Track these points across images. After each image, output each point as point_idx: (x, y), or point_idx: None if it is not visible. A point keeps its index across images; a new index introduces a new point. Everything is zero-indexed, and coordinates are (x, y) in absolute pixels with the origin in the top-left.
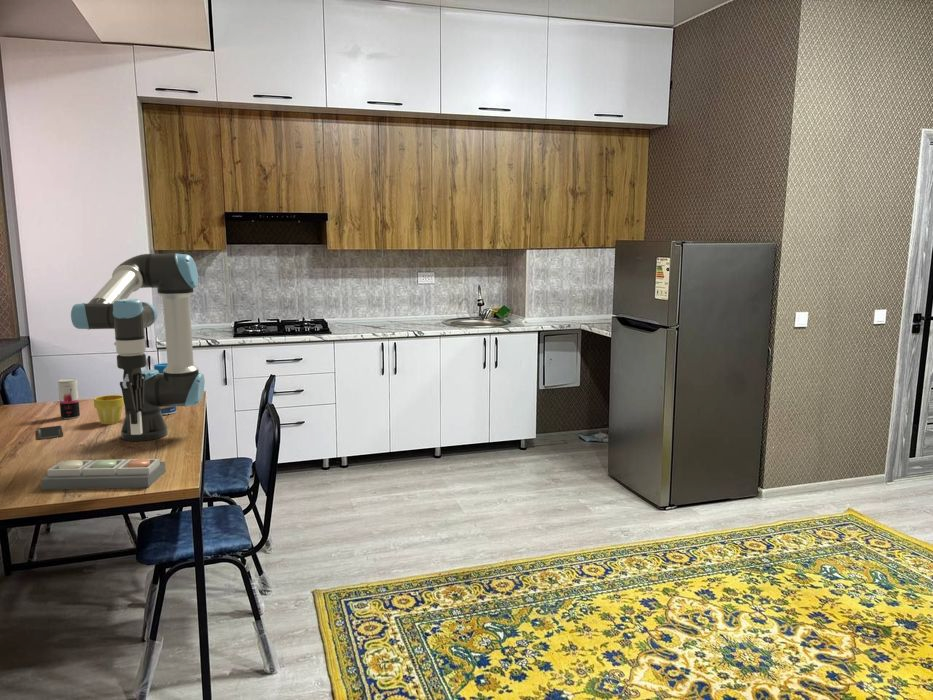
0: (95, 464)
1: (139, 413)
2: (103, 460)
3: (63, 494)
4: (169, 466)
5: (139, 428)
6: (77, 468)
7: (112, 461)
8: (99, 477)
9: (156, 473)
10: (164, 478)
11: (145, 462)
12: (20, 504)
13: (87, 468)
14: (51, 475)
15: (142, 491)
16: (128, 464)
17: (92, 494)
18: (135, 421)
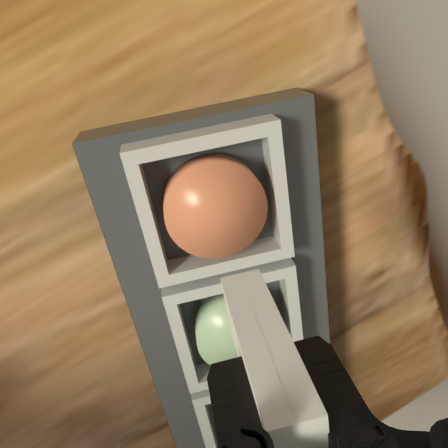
0: None
1: (315, 406)
2: (212, 360)
3: (362, 324)
4: (4, 155)
5: (272, 301)
6: None
7: (221, 322)
8: (318, 284)
9: (200, 113)
10: (175, 80)
11: (217, 177)
12: (430, 367)
13: None
14: None
15: (343, 86)
16: (255, 236)
17: (367, 246)
18: (336, 354)
